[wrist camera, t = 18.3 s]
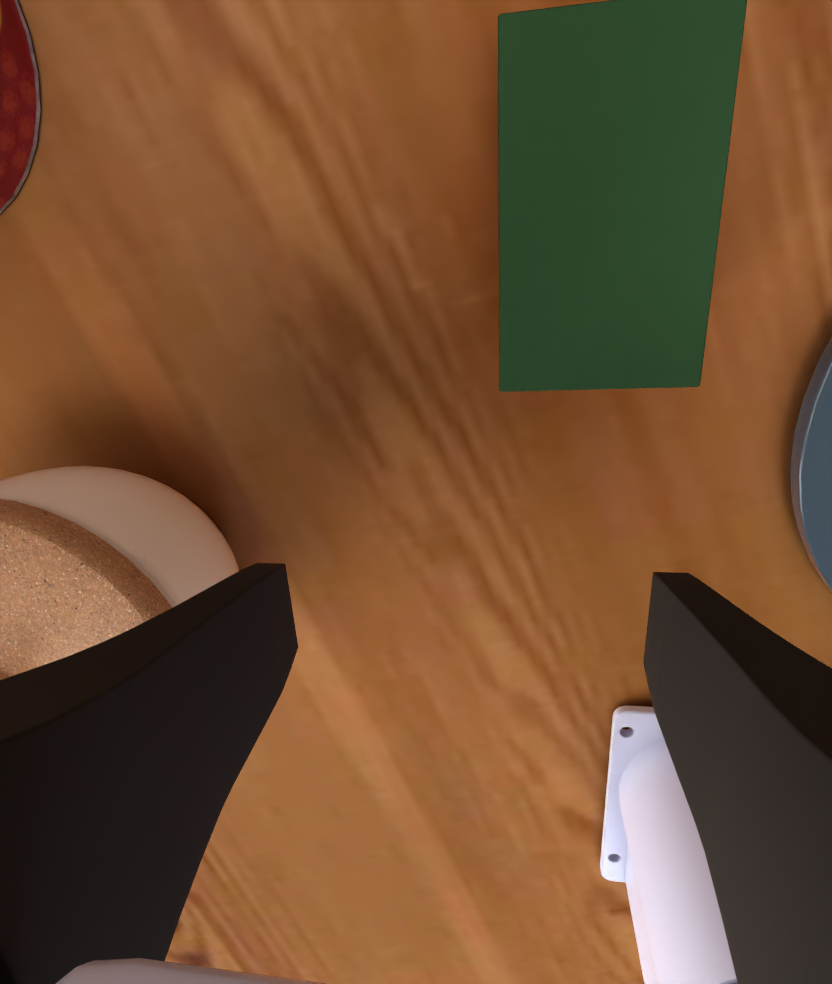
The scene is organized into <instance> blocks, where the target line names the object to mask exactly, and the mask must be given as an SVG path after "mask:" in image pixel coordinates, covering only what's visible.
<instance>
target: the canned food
mask: <svg viewBox="0 0 832 984" xmlns="http://www.w3.org/2000/svg"><path fill="white" fill-rule="evenodd" d="M40 114H41V107H40V90H39V74H38V69H37V64H36V60H35V55H34V50H33V45H32V40H31V36H30V33H29V30H28V27H27V25H26V22H25V19H24V16H23V13H22V11H21V8H20V5H19V2H18V0H0V214H1V212H2V211H3V210H4V209H5V208H6V207H7V206H8V205H9V204H10V203H11V202H12V201H13V200H14V199H15V197H16V195H17V194H18V192H19V190H20V188H21V186H22V185H23V183H24V181H25V179H26V177H27V176H28V174H29V170H30V167H31V164H32V160H33V157H34V154H35V150H36V147H37V142H38V132H39V123H40Z"/></svg>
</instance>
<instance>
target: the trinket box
mask: <svg viewBox="0 0 832 984" xmlns="http://www.w3.org/2000/svg"><path fill="white" fill-rule="evenodd" d="M237 572H239V568H238V565H237V562H236V560H235V557H234V554H233V552H232V550H231V548H230V547H229V545H228V543H227V541H226V539H225V538H224V536H223V535H222V533H221V532H220V531H219V529H218V528H217V527H216V525H215V524H214V523H213V521H212V520H211V519H210V518H209V517H208V516H207V515H206V514H205V513H204V512H203V511H202V510H201V509H200V508H199V507H198V506H196V505H195V504H194V503H193V502H191V501H190V500H189V499H187V498H186V497H185V496H184V495H182V494H180V493H179V492H177V491H175V490H174V489H172V488H170V487H169V486H167V485H165V484H162V483H160V482H158V481H156V480H153V479H151V478H148V477H145V476H142V475H139V474H135V473H132V472H128V471H125V470H121V469H114V468H106V467H94V466H69V467H58V468H51V469H45V470H39V471H34V472H30V473H25V474H20V475H17V476H13V477H9V478H6V479H2V480H0V680H2V679H5V678H8V677H11V676H14V675H16V674H19V673H22V672H25V671H28V670H31V669H34V668H36V667H39V666H42V665H45V664H48V663H51V662H54V661H57V660H59V659H62V658H65V657H67V656H70V655H72V654H75V653H77V652H80V651H82V650H85V649H87V648H89V647H92V646H94V645H97V644H99V643H101V642H104V641H106V640H108V639H110V638H113V637H115V636H117V635H119V634H121V633H123V632H126V631H128V630H130V629H132V628H134V627H136V626H138V625H140V624H142V623H143V622H145V621H147V620H149V619H151V618H153V617H155V616H157V615H159V614H161V613H163V612H165V611H167V610H169V609H171V608H173V607H175V606H177V605H178V604H180V603H182V602H184V601H186V600H188V599H189V598H191V597H193V596H195V595H197V594H198V593H200V592H202V591H204V590H206V589H207V588H209V587H211V586H213V585H215V584H216V583H218V582H220V581H222V580H224V579H225V578H227V577H229V576H231V575H233V574H235V573H237Z"/></svg>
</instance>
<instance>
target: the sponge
mask: <svg viewBox="0 0 832 984" xmlns="http://www.w3.org/2000/svg"><path fill="white" fill-rule="evenodd" d="M746 6H747V0H610V1H602V2H593V3H585V4H577V5H569V6H561V7H553V8H545V9H537V10H529V11H521V12H512V13H504V14H500V15H499V16H498V143H499V390H500V391H501V392H507V391H549V390H590V389H631V388H672V387H698V386H700V381H701V373H702V365H703V357H704V349H705V340H706V332H707V324H708V316H709V308H710V300H711V291H712V283H713V275H714V267H715V259H716V251H717V243H718V234H719V226H720V218H721V210H722V202H723V194H724V185H725V177H726V169H727V161H728V153H729V145H730V136H731V128H732V120H733V112H734V104H735V96H736V87H737V79H738V71H739V63H740V55H741V47H742V38H743V30H744V22H745V14H746Z"/></svg>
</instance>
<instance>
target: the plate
mask: <svg viewBox="0 0 832 984" xmlns="http://www.w3.org/2000/svg"><path fill="white" fill-rule="evenodd" d="M790 471H791V497H792V504H793V509H794V514H795V519H796V524H797V529H798V532H799V534H800V537H801V540H802V542H803V545H804V547H805V550H806V552H807V555H808V558H809V559H810V561H811V563H812V564H813V566H814V568H815V569H816V571H817V573H818V574H819V576H820V578H821V579H822V581H823V583H824V584H825V585H826V586H827V588H828V589H829V590H830V591H831V592H832V337H831V338H830V340H829V342H828V344H827V346H826V347H825V349H824V351H823V353H822V355H821V356H820V358H819V360H818V363H817V365H816V367H815V370H814V372H813V375H812V377H811V380H810V382H809V385H808V387H807V390H806V392H805V395H804V397H803V401H802V405H801V409H800V413H799V416H798V420H797V424H796V428H795V432H794V439H793V448H792V457H791V466H790Z"/></svg>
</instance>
